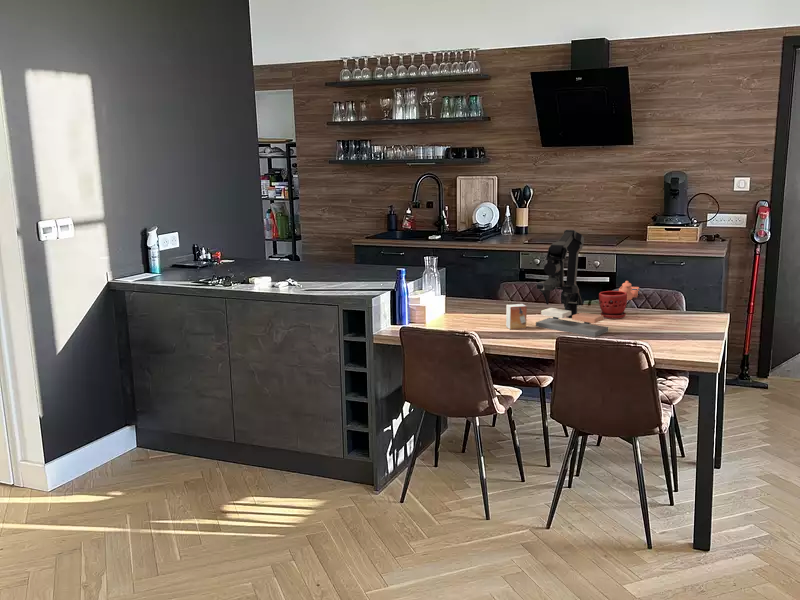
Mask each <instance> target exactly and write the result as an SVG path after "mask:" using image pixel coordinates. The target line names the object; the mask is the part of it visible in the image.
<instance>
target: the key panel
mask: <svg viewBox="0 0 800 600" xmlns="http://www.w3.org/2000/svg"><path fill="white" fill-rule="evenodd" d="M535 327H537V328H542V329H547V330H554V331H559V332H566V333H570V332H572V334H576V333H577V335H582V334H583V335H584V336H588V337H589V336H590V337H594V336H595V337H598V336H600V335H603V334H605V333H608V332H609V326H604V325H597V324H593V323H591V324H585V323H584V322H581V321H574V320H572V321H571V320H565V319H562V318H559V319H553V317H548V318H545V319H541V320H539V321H535Z"/></svg>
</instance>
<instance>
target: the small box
mask: <svg viewBox="0 0 800 600" xmlns="http://www.w3.org/2000/svg"><path fill="white" fill-rule="evenodd" d="M527 311H528V310H527V305H525V304H523V303H517V304H506V315H505V317H506V318H505V319H506V320H505V322H506V323H505V326H506V327H507V328H508V329H509V330H513V329H514V330H515V329H516V330H517V329H521V330H522V329H527V317H528V316H527V314H528V313H527ZM506 327H505V328H506Z"/></svg>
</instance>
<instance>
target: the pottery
mask: <svg viewBox="0 0 800 600" xmlns="http://www.w3.org/2000/svg"><path fill="white" fill-rule="evenodd" d="M632 285H633V284H632V283H631V282H629V280H625V282H623V283H622V284H621V286H620V287H618V291H622V292H626V293H627V301H632V300H633V298H638V297H639V295H638V291H639V292H640V287H639V286H632ZM632 289H637V290H632ZM638 289H639V290H638Z"/></svg>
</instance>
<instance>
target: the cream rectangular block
mask: <svg viewBox="0 0 800 600" xmlns="http://www.w3.org/2000/svg"><path fill="white" fill-rule="evenodd" d="M540 311H541V312H540V315H541V316H545V317H550V318H553V319H564V318H568V317H567V316H570V315H571V311H569V310H565V309H560V308H555V307H548V308H546V309H542V310H540Z"/></svg>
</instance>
